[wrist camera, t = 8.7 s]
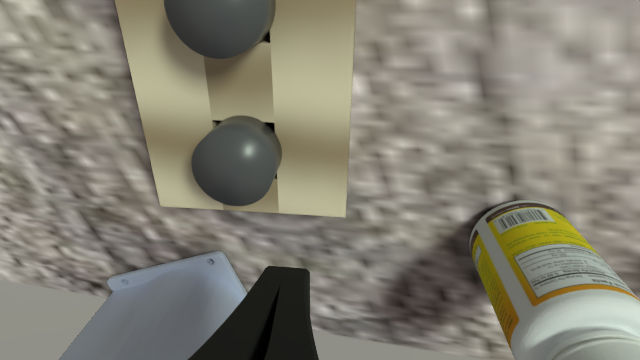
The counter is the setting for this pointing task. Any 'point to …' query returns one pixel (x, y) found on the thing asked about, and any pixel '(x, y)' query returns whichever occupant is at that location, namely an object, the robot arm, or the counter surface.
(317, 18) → the knob mount
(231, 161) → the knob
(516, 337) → the supplement bottle
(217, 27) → the knob middle
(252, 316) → the robot arm
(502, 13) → the counter surface
